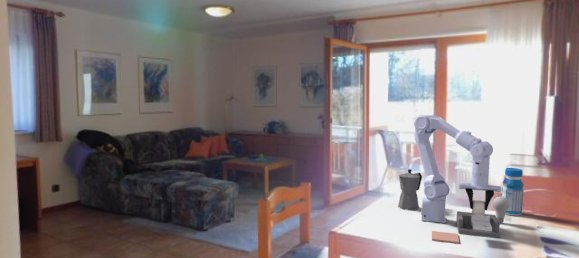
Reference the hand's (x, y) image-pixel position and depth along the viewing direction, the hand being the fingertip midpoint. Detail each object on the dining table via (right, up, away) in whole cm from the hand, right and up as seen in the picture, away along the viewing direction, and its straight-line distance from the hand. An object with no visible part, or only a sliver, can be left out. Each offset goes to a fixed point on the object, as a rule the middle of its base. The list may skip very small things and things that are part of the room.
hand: (478, 208), depth 155 cm
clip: (-3, -5, -9) cm, 11 cm away
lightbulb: (+14, -8, +12) cm, 20 cm away
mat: (-15, -9, -7) cm, 19 cm away
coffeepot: (-16, -6, +34) cm, 38 cm away
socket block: (0, -9, +2) cm, 9 cm away
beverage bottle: (+26, -7, +25) cm, 37 cm away
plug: (0, -2, 0) cm, 2 cm away
